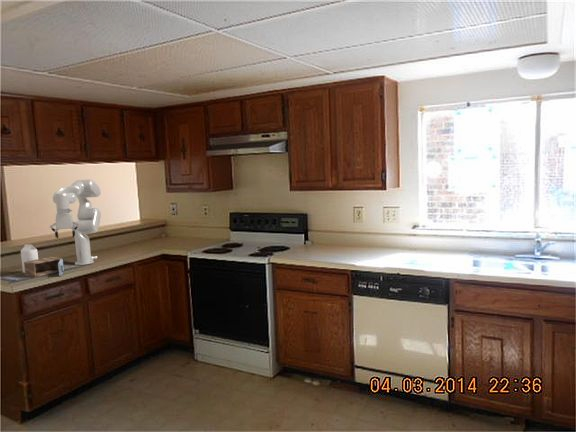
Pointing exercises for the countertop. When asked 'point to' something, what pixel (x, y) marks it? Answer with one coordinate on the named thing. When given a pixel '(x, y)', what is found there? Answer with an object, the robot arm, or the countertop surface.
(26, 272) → the walnut cabinet
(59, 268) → the cabinet door
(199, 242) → the countertop surface
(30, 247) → the milk carton
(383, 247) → the countertop surface
